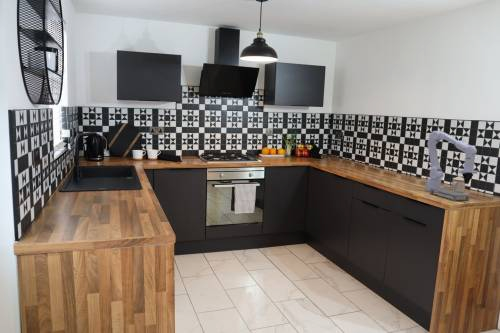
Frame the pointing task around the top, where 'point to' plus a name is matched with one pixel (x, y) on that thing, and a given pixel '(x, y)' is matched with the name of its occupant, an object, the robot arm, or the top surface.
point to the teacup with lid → (458, 184)
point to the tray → (450, 196)
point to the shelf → (450, 193)
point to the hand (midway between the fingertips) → (466, 183)
